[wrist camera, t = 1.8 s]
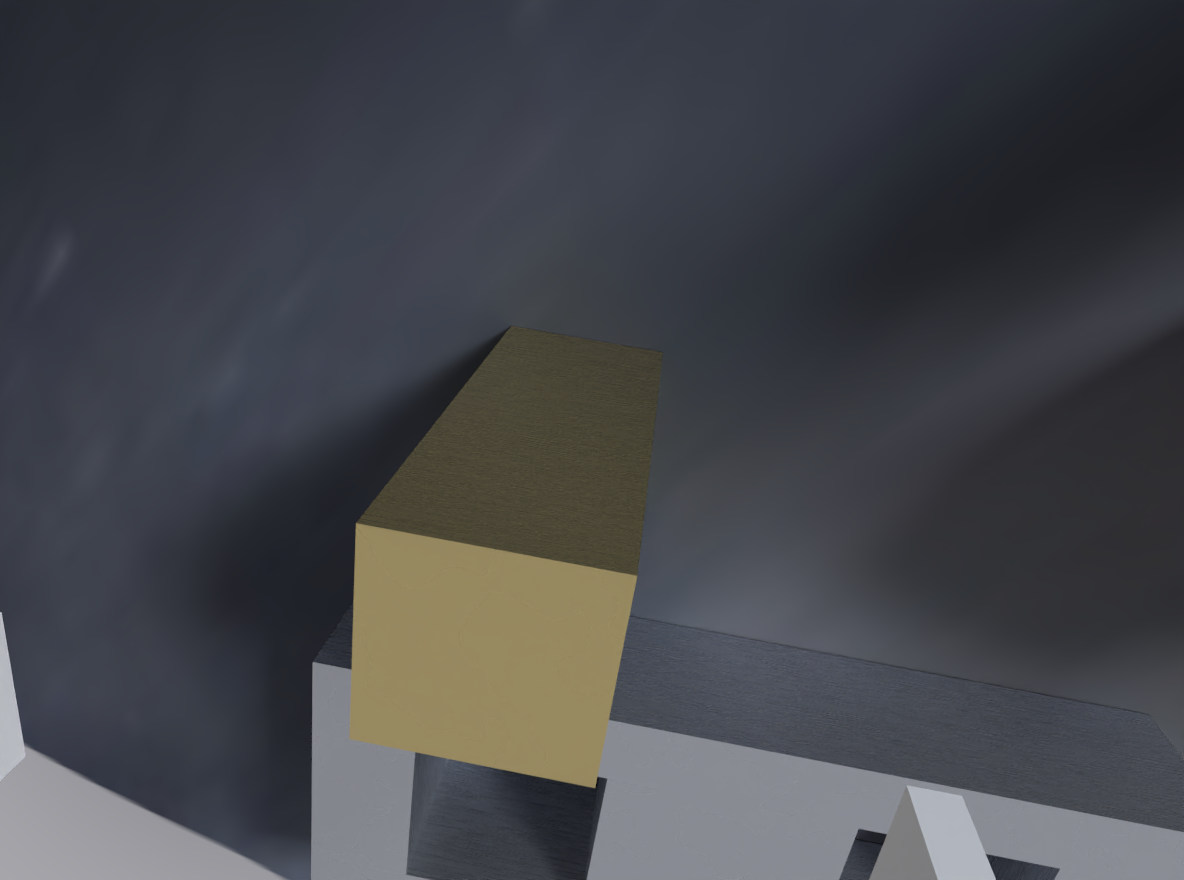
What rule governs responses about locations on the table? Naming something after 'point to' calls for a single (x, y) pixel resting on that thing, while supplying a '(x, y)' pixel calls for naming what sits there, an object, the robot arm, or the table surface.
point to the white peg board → (755, 777)
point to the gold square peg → (509, 562)
